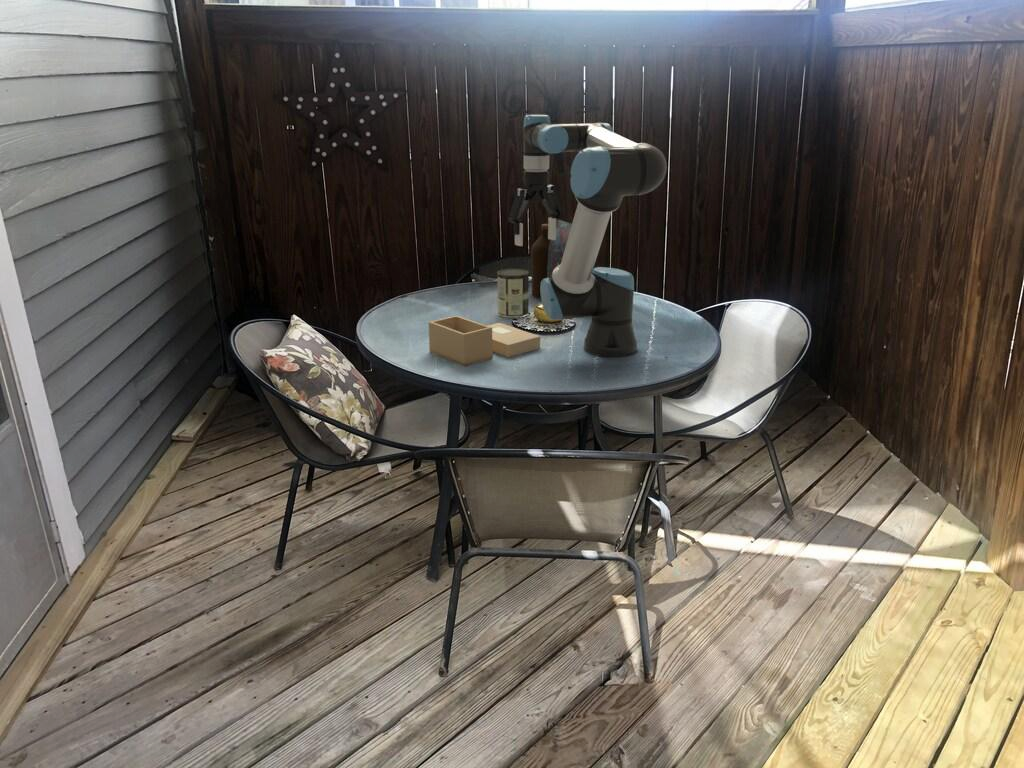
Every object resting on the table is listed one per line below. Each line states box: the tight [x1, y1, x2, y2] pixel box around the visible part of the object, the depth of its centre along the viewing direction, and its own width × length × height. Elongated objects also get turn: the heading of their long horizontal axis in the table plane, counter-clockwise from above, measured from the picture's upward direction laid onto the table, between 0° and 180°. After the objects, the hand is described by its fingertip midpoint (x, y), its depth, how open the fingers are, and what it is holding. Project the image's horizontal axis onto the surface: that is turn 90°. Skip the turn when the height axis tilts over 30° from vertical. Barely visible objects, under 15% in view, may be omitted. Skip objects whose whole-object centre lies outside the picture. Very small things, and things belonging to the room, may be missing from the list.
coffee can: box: [496, 268, 530, 319], centre depth 274 cm, size 10×10×14 cm
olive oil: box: [530, 223, 551, 299], centre depth 296 cm, size 11×11×25 cm
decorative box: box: [547, 219, 572, 278], centre depth 282 cm, size 8×16×28 cm, turn 24°
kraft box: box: [428, 315, 493, 367], centre depth 236 cm, size 16×10×9 cm, turn 41°
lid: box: [487, 322, 541, 358], centre depth 245 cm, size 18×12×4 cm
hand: (535, 242), depth 253 cm, fingers open, 13 cm apart
